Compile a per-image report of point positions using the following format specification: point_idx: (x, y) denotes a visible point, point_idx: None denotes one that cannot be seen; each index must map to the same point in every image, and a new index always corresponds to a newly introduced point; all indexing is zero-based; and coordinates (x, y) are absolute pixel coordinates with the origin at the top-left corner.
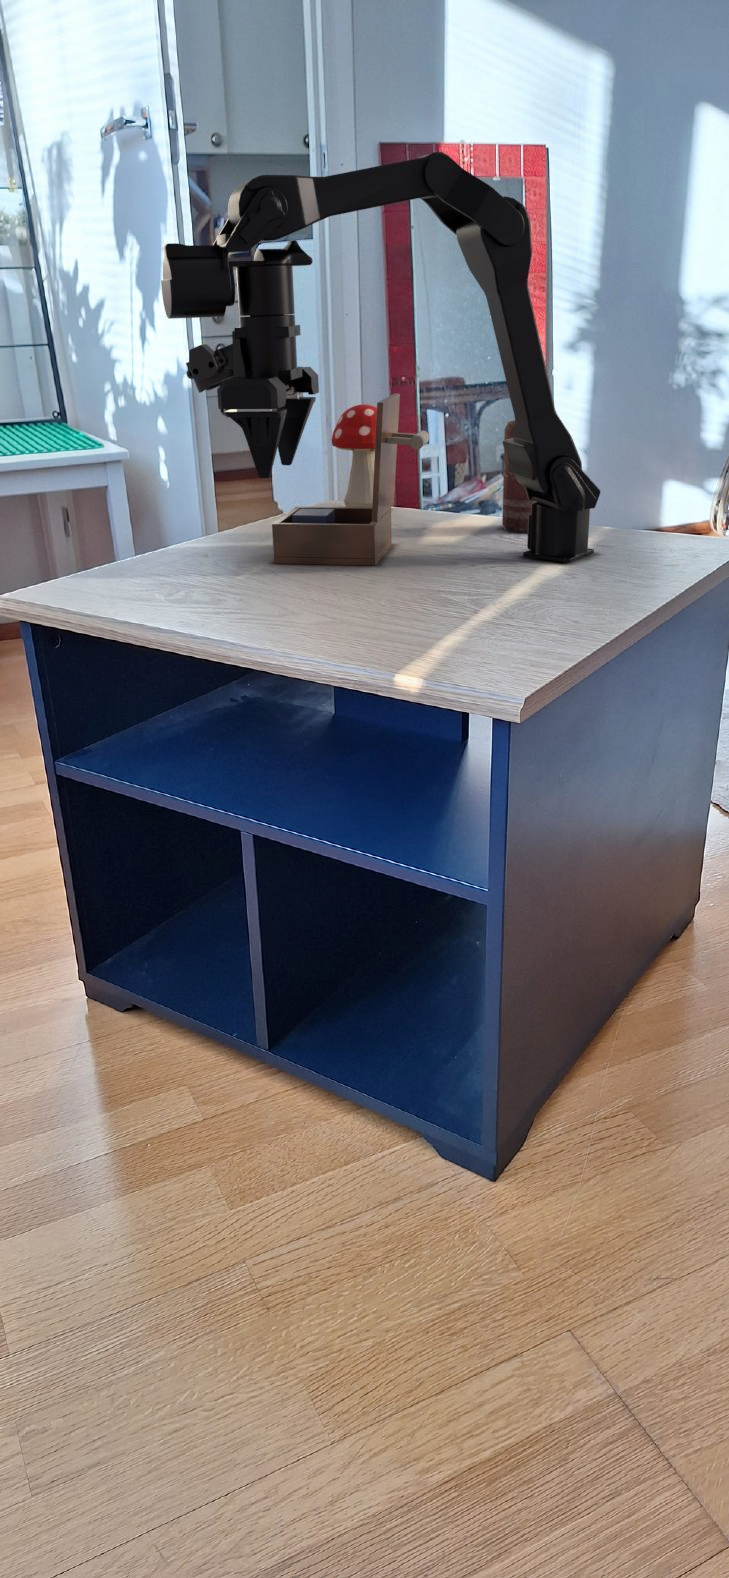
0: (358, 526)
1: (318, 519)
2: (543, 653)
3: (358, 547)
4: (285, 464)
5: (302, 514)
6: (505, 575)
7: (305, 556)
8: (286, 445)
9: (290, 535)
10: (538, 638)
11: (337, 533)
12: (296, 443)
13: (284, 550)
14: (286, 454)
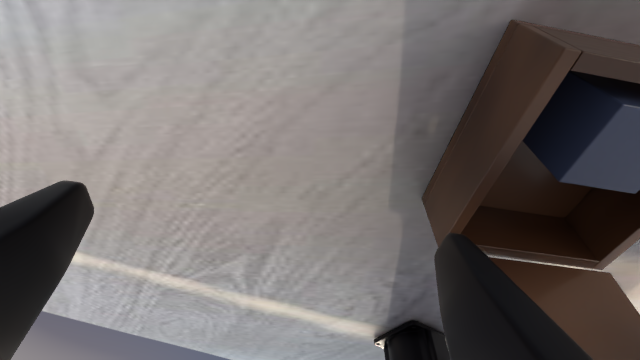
0: (449, 226)
1: (566, 160)
2: (60, 301)
3: (439, 198)
4: (443, 243)
5: (615, 130)
6: (335, 303)
7: (480, 99)
8: (469, 325)
9: (518, 88)
10: (103, 302)
11: (465, 185)
12: (450, 358)
13: (510, 57)
14: (451, 284)
